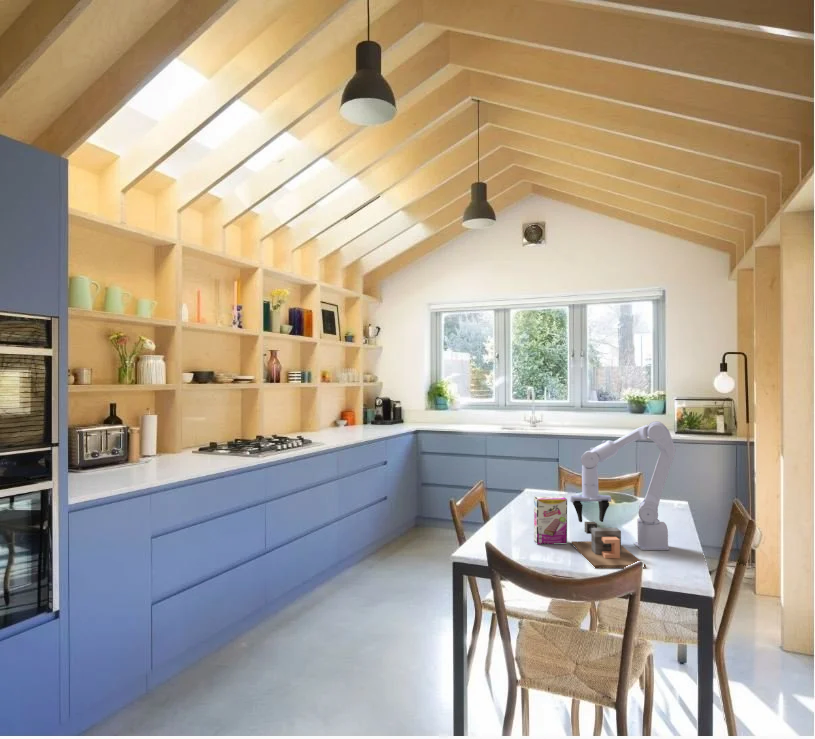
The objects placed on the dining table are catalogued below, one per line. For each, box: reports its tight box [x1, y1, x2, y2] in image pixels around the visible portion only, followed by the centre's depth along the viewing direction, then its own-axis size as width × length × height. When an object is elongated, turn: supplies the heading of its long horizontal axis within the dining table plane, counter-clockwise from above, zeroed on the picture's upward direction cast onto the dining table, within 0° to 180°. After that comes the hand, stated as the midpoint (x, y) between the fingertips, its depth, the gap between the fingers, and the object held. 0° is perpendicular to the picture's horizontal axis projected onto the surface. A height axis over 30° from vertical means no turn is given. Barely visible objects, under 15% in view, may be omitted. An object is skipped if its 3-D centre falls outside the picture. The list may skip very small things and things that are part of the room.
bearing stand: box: [571, 527, 647, 569], centre depth 193 cm, size 16×26×9 cm, turn 0°
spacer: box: [601, 537, 620, 558], centre depth 189 cm, size 6×4×5 cm
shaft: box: [584, 521, 604, 543], centre depth 203 cm, size 4×17×4 cm, turn 0°
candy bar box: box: [533, 496, 568, 545], centre depth 208 cm, size 11×5×16 cm, turn 92°
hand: (590, 521), depth 210 cm, fingers open, 7 cm apart
